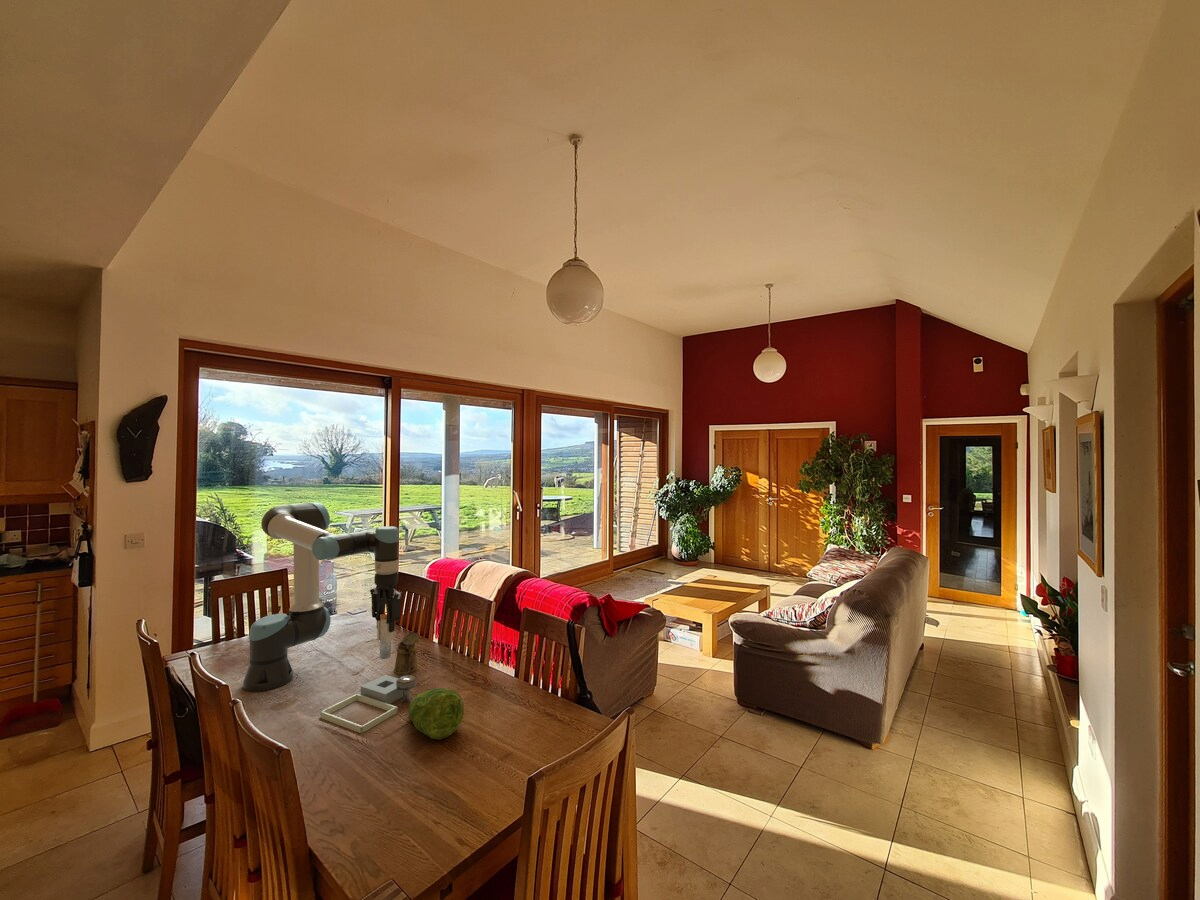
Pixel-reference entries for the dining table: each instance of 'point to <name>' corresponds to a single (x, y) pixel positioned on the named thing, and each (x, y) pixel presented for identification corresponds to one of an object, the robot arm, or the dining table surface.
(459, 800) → the dining table surface
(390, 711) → the tray
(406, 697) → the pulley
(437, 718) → the lettuce
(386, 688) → the block
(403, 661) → the wooden mug
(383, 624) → the pin
